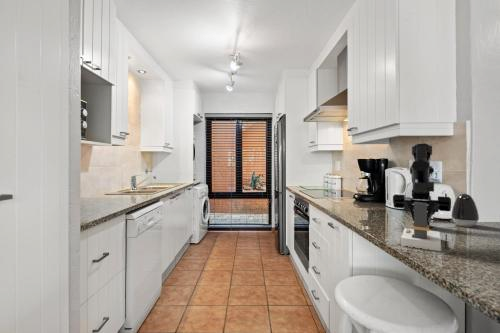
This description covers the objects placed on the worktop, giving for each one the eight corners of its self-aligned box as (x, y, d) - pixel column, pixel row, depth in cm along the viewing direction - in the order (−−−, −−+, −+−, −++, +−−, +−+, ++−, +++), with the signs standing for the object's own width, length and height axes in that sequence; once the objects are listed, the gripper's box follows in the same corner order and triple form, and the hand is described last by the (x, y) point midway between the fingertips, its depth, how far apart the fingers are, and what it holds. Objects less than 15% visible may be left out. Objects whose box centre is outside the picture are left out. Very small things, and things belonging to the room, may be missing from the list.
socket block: (404, 235, 114) (404, 226, 114) (439, 239, 107) (439, 230, 107) (401, 245, 100) (401, 236, 100) (441, 251, 93) (440, 240, 93)
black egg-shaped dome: (455, 227, 126) (455, 194, 126) (448, 222, 135) (448, 192, 135) (483, 228, 122) (482, 195, 122) (473, 224, 132) (473, 192, 132)
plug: (412, 235, 104) (412, 201, 104) (429, 237, 101) (428, 202, 101) (412, 238, 100) (411, 203, 100) (429, 240, 97) (428, 204, 97)
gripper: (392, 174, 109) (390, 205, 100) (450, 174, 98) (453, 209, 89) (395, 191, 115) (392, 222, 106) (449, 194, 105) (451, 228, 96)
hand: (420, 220), depth 99 cm, fingers closed on plug, 4 cm apart
